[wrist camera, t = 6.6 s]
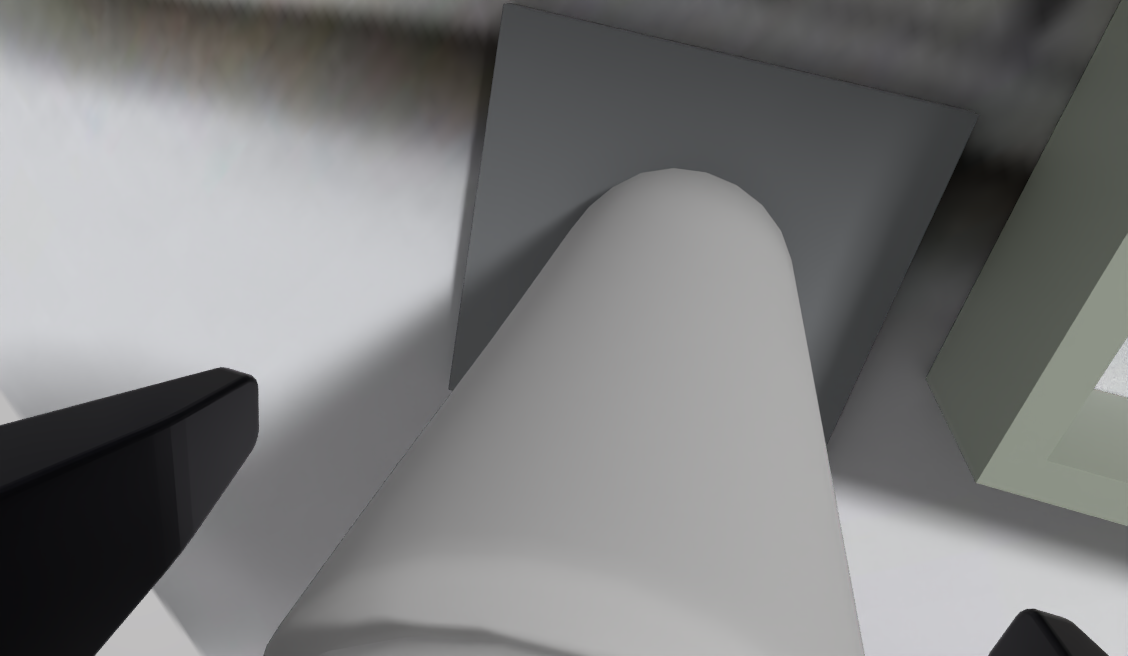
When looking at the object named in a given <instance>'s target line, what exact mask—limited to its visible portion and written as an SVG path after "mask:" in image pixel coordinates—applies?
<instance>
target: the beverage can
mask: <svg viewBox="0 0 1128 656" xmlns="http://www.w3.org/2000/svg"><path fill="white" fill-rule="evenodd" d="M264 656H865V654H864V648H863V643H862V638H861V632H860V627H859V621H858V616H857V611H856V605H855V600H854V594H853V589H852V584H851V578H850V573H849V567H848V562H847V557H846V551H845V546H844V540H843V535H842V530H841V524H840V519H839V513H838V508H837V503H836V497H835V492H834V486H833V481H832V476H831V470H830V465H829V460H828V454H827V449H826V443H825V438H824V433H823V427H822V422H821V416H820V411H819V406H818V400H817V395H816V389H815V384H814V379H813V373H812V368H811V362H810V357H809V352H808V346H807V341H806V335H805V330H804V325H803V319H802V314H801V308H800V303H799V298H798V292H797V287H796V282H795V276H794V271H793V265H792V260H791V257H790V254H789V251H788V249H787V246H786V243H785V240H784V238H783V235H782V232H781V230H780V229H779V227H778V226H777V224H776V223H775V222H774V220H773V219H772V218H771V216H770V215H769V213H768V212H767V211H766V209H765V208H764V207H763V205H762V204H760V203H759V202H758V201H757V200H755V199H754V198H753V197H751V196H750V195H749V194H747V193H746V192H745V191H744V190H742V189H741V188H740V187H738V186H737V185H735V184H733V183H730V182H728V181H726V180H723V179H721V178H719V177H716V176H714V175H711V174H709V173H707V172H700V171H692V170H685V169H677V168H670V169H664V170H657V171H650V172H643V173H640V174H638V175H636V176H634V177H632V178H630V179H628V180H626V181H624V182H622V183H620V184H618V185H616V186H614V187H612V188H611V189H610V190H608V191H607V192H606V193H605V194H604V195H602V196H601V197H600V198H599V199H598V200H597V201H595V202H594V203H593V204H592V205H591V206H589V207H588V209H587V210H586V211H585V212H584V214H583V215H582V216H581V217H580V219H579V220H578V221H577V222H576V224H575V225H574V226H573V227H572V229H571V230H570V231H569V233H568V234H567V235H566V237H565V238H564V240H563V241H562V242H561V244H560V245H559V247H558V248H557V249H556V251H555V252H554V254H553V255H552V256H551V258H550V259H549V261H548V262H547V263H546V265H545V266H544V268H543V269H542V270H541V272H540V273H539V275H538V276H537V277H536V279H535V280H534V281H533V283H532V284H531V286H530V287H529V288H528V290H527V291H526V293H525V294H524V295H523V297H522V298H521V300H520V301H519V302H518V304H517V305H516V307H515V308H514V309H513V311H512V312H511V313H510V315H509V316H508V317H507V319H506V320H505V322H504V323H503V324H502V326H501V327H500V328H499V330H498V331H497V333H496V334H495V335H494V337H493V338H492V339H491V341H490V342H489V343H488V345H487V346H486V347H485V349H484V350H483V351H482V353H481V354H480V355H479V357H478V358H477V359H476V361H475V362H474V363H473V365H472V366H471V367H470V369H469V370H468V371H467V373H466V374H465V375H464V377H463V378H462V379H461V381H460V382H459V383H458V385H457V386H456V387H455V389H454V390H453V391H452V393H451V394H450V395H449V397H448V398H447V399H446V401H445V402H444V403H443V405H442V406H441V407H440V409H439V410H438V411H437V413H436V414H435V415H434V417H433V418H432V419H431V420H430V422H429V423H428V424H427V426H426V427H425V428H424V430H423V431H422V432H421V434H420V435H419V436H418V438H417V439H416V440H415V442H414V443H413V444H412V446H411V447H410V448H409V450H408V451H407V452H406V454H405V455H404V456H403V458H402V459H401V460H400V462H399V463H398V465H397V466H396V467H395V469H394V470H393V471H392V473H391V474H390V475H389V477H388V478H387V479H386V481H385V482H384V483H383V485H382V486H381V488H380V489H379V490H378V492H377V493H376V494H375V496H374V497H373V498H372V500H371V501H370V502H369V504H368V505H367V507H366V508H365V509H364V511H363V512H362V513H361V515H360V516H359V517H358V519H357V520H356V521H355V523H354V524H353V525H352V527H351V528H350V530H349V531H348V532H347V534H346V535H345V536H344V538H343V539H342V541H341V542H340V543H339V545H338V546H337V547H336V549H335V550H334V552H333V553H332V554H331V556H330V557H329V558H328V560H327V561H326V563H325V564H324V565H323V567H322V568H321V569H320V571H319V572H318V574H317V575H316V576H315V578H314V579H313V580H312V582H311V583H310V585H309V586H308V587H307V589H306V590H305V591H304V593H303V594H302V596H301V597H300V598H299V600H298V601H297V602H296V604H295V605H294V606H293V608H292V609H291V611H290V612H289V613H288V615H287V616H286V617H285V619H284V620H283V622H282V623H281V624H280V626H279V627H278V629H277V630H276V632H275V633H274V635H273V637H272V638H271V640H270V641H269V643H268V644H267V646H266V650H265V653H264Z"/></svg>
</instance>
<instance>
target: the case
mask: <svg viewBox="0 0 1128 656" xmlns="http://www.w3.org/2000/svg"><path fill="white" fill-rule="evenodd" d="M1127 337H1128V0H1121V2H1120V4H1119V6H1118V8H1117V10H1116V12H1115V13H1114V15H1113V17H1112V19H1111V21H1110V23H1109V25H1108V27H1107V29H1106V31H1105V33H1104V35H1103V37H1102V39H1101V41H1100V42H1099V44H1098V46H1097V48H1096V50H1095V52H1094V54H1093V56H1092V58H1091V60H1090V62H1089V64H1088V66H1087V68H1086V70H1085V72H1084V73H1083V75H1082V77H1081V79H1080V81H1079V83H1078V85H1077V87H1076V89H1075V91H1074V93H1073V95H1072V97H1071V99H1070V101H1069V102H1068V104H1067V106H1066V108H1065V110H1064V112H1063V114H1062V116H1061V118H1060V120H1059V122H1058V124H1057V126H1056V128H1055V130H1054V131H1053V133H1052V135H1051V137H1050V139H1049V141H1048V143H1047V145H1046V147H1045V149H1044V151H1043V153H1042V155H1041V157H1040V159H1039V160H1038V162H1037V164H1036V166H1035V168H1034V170H1033V172H1032V174H1031V176H1030V178H1029V180H1028V182H1027V184H1026V186H1025V188H1024V189H1023V191H1022V193H1021V195H1020V197H1019V199H1018V201H1017V203H1016V205H1015V207H1014V209H1013V211H1012V213H1011V215H1010V217H1009V218H1008V220H1007V222H1006V224H1005V226H1004V228H1003V230H1002V232H1001V234H1000V236H999V238H998V240H997V242H996V244H995V246H994V248H993V249H992V251H991V253H990V255H989V257H988V259H987V261H986V263H985V265H984V267H983V269H982V271H981V273H980V275H979V277H978V278H977V280H976V282H975V284H974V286H973V288H972V290H971V292H970V294H969V296H968V298H967V300H966V302H965V304H964V306H963V307H962V309H961V311H960V313H959V315H958V317H957V319H956V321H955V323H954V325H953V327H952V329H951V331H950V333H949V335H948V336H947V338H946V340H945V342H944V344H943V346H942V348H941V350H940V352H939V354H938V356H937V358H936V360H935V362H934V364H933V365H932V367H931V369H930V371H929V373H928V375H927V377H926V381H927V383H928V385H929V387H930V389H931V391H932V393H933V395H934V397H935V400H936V402H937V404H938V406H939V408H940V410H941V412H942V414H943V416H944V418H945V420H946V422H947V424H948V426H949V428H950V430H951V433H952V435H953V437H954V439H955V441H956V443H957V445H958V447H959V449H960V451H961V453H962V455H963V457H964V459H965V461H966V463H967V466H968V468H969V470H970V472H971V474H972V476H973V478H974V480H975V482H976V483H978V484H981V485H985V486H988V487H992V488H995V489H999V490H1002V491H1006V492H1009V493H1013V494H1016V495H1020V496H1023V497H1027V498H1030V499H1034V500H1037V501H1041V502H1044V503H1048V504H1051V505H1055V506H1058V507H1062V508H1065V509H1069V510H1072V511H1076V512H1079V513H1083V514H1086V515H1090V516H1093V517H1097V518H1100V519H1104V520H1107V521H1111V522H1114V523H1118V524H1121V525H1125V526H1128V398H1126V397H1123V396H1119V395H1115V394H1111V393H1108V392H1104V391H1100V390H1097V389H1094V387H1095V386H1096V384H1097V383H1098V381H1099V380H1100V378H1101V377H1102V375H1103V374H1104V372H1105V370H1106V369H1107V367H1108V366H1109V364H1110V363H1111V361H1112V360H1113V358H1114V357H1115V355H1116V354H1117V352H1118V351H1119V349H1120V348H1121V346H1122V344H1123V343H1124V341H1125V340H1126V338H1127Z"/></svg>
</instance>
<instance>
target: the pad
mask: <svg viewBox="0 0 1128 656" xmlns="http://www.w3.org/2000/svg"><path fill="white" fill-rule="evenodd" d="M978 117H979V115H978V114H976V113H974V112H973V111H970V110H966V109H961V108H957V107H953V106H949V105H944V104H940V103H936V102H932V101H927V100H923V99H919V98H914V97H910V96H906V95H902V94H897V93H893V92H889V91H884V90H880V89H876V88H872V87H867V86H863V85H859V84H855V83H850V82H846V81H842V80H837V79H833V78H829V77H825V76H820V75H816V74H812V73H807V72H803V71H799V70H795V69H790V68H786V67H782V66H778V65H773V64H769V63H765V62H760V61H756V60H752V59H748V58H743V57H739V56H735V55H730V54H726V53H722V52H718V51H713V50H709V49H705V48H701V47H696V46H692V45H688V44H683V43H679V42H675V41H671V40H666V39H662V38H658V37H653V36H649V35H645V34H641V33H636V32H632V31H628V30H623V29H619V28H615V27H611V26H606V25H602V24H598V23H594V22H589V21H585V20H581V19H576V18H572V17H568V16H564V15H559V14H555V13H551V12H546V11H542V10H538V9H534V8H529V7H525V6H521V5H517V4H512V3H507V4H504V5H503V12H502V19H501V26H500V33H499V40H498V47H497V54H496V61H495V68H494V75H493V82H492V89H491V96H490V103H489V110H488V117H487V124H486V131H485V138H484V145H483V152H482V159H481V166H480V173H479V180H478V187H477V194H476V201H475V208H474V215H473V222H472V229H471V236H470V243H469V250H468V257H467V264H466V271H465V278H464V285H463V292H462V299H461V306H460V313H459V320H458V327H457V334H456V341H455V348H454V355H453V362H452V369H451V376H450V383H449V390H452V391H453V390H454V389H455V387H456V386H457V385H458V383H459V382H460V381H461V379H462V378H463V377H464V375H465V374H466V373H467V371H468V370H469V369H470V367H471V366H472V365H473V363H474V362H475V361H476V359H477V358H478V357H479V355H480V354H481V353H482V351H483V350H484V349H485V347H486V346H487V345H488V343H489V342H490V341H491V339H492V338H493V337H494V335H495V334H496V333H497V331H498V330H499V328H500V327H501V326H502V324H503V323H504V322H505V320H506V319H507V317H508V316H509V315H510V313H511V312H512V311H513V309H514V308H515V307H516V305H517V304H518V302H519V301H520V300H521V298H522V297H523V295H524V294H525V293H526V291H527V290H528V288H529V287H530V286H531V284H532V283H533V281H534V280H535V279H536V277H537V276H538V275H539V273H540V272H541V270H542V269H543V268H544V266H545V265H546V263H547V262H548V261H549V259H550V258H551V256H552V255H553V254H554V252H555V251H556V249H557V248H558V247H559V245H560V244H561V242H562V241H563V240H564V238H565V237H566V235H567V234H568V233H569V231H570V230H571V229H572V227H573V226H574V225H575V224H576V222H577V221H578V220H579V219H580V217H581V216H582V215H583V214H584V212H585V211H586V210H587V209H588V207H589V206H591V205H592V204H593V203H594V202H595V201H597V200H598V199H599V198H600V197H601V196H602V195H604V194H605V193H606V192H607V191H608V190H610V189H611V188H612V187H614V186H616V185H618V184H620V183H622V182H624V181H626V180H628V179H630V178H632V177H634V176H636V175H638V174H640V173H643V172H650V171H657V170H664V169H670V168H677V169H685V170H692V171H700V172H707V173H709V174H711V175H714V176H716V177H719V178H721V179H723V180H726V181H728V182H730V183H733V184H735V185H737V186H738V187H740V188H741V189H742V190H744V191H745V192H746V193H747V194H749V195H750V196H751V197H753V198H754V199H755V200H757V201H758V202H759V203H760V204H762V205H763V207H764V208H765V209H766V211H767V212H768V213H769V215H770V216H771V218H772V219H773V220H774V222H775V223H776V224H777V226H778V227H779V229H780V230H781V232H782V235H783V238H784V240H785V243H786V246H787V249H788V251H789V254H790V257H791V260H792V265H793V271H794V276H795V282H796V287H797V292H798V298H799V303H800V308H801V314H802V319H803V325H804V330H805V335H806V341H807V346H808V352H809V357H810V362H811V368H812V373H813V379H814V384H815V389H816V395H817V400H818V406H819V411H820V416H821V422H822V427H823V433H824V438H825V443H826V445H827V443H828V441H829V439H830V437H831V434H832V432H833V430H834V428H835V426H836V424H837V421H838V419H839V417H840V415H841V413H842V411H843V409H844V406H845V404H846V402H847V400H848V398H849V396H850V393H851V391H852V389H853V387H854V385H855V383H856V380H857V378H858V376H859V374H860V372H861V370H862V367H863V365H864V363H865V361H866V359H867V357H868V355H869V352H870V350H871V348H872V346H873V344H874V342H875V339H876V337H877V335H878V333H879V331H880V329H881V326H882V324H883V322H884V320H885V318H886V316H887V314H888V311H889V309H890V307H891V305H892V303H893V301H894V298H895V296H896V294H897V292H898V290H899V288H900V285H901V283H902V281H903V279H904V277H905V275H906V273H907V270H908V268H909V266H910V264H911V262H912V260H913V257H914V255H915V253H916V251H917V249H918V247H919V244H920V242H921V240H922V238H923V236H924V234H925V231H926V229H927V227H928V225H929V223H930V221H931V219H932V216H933V214H934V212H935V210H936V208H937V206H938V203H939V201H940V199H941V197H942V195H943V193H944V190H945V188H946V186H947V184H948V182H949V180H950V178H951V175H952V173H953V171H954V169H955V167H956V165H957V162H958V160H959V158H960V156H961V154H962V152H963V149H964V147H965V145H966V143H967V141H968V139H969V137H970V134H971V132H972V130H973V128H974V126H975V124H976V121H977V119H978Z"/></svg>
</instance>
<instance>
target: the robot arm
mask: <svg viewBox="0 0 1128 656" xmlns="http://www.w3.org/2000/svg"><path fill="white" fill-rule="evenodd" d="M258 432H259V407H258V384H257V381H256V379H255V378H254V377H253V376H252V375H249V374H246V373H243V372H239V371H236V370H233V369H229V368H224V367H220V368H215V369H212V370H208V371H204V372H200V373H196V374H193V375H189V376H185V377H181V378H178V379H174V380H170V381H166V382H162V383H159V384H155V385H151V386H147V387H143V388H140V389H136V390H132V391H128V392H125V393H121V394H117V395H113V396H109V397H106V398H102V399H98V400H94V401H90V402H87V403H83V404H79V405H75V406H71V407H68V408H64V409H60V410H56V411H53V412H49V413H45V414H41V415H37V416H34V417H30V418H26V419H22V420H18V421H15V422H11V423H7V424H4V425H0V656H95V655H96V653H97V652H98V651H99V650H100V649H101V648H102V646H103V645H104V644H105V643H106V642H107V641H108V639H109V638H110V637H111V636H112V635H113V633H114V632H115V631H116V630H117V629H118V628H119V626H120V625H121V624H122V623H123V622H124V620H125V619H126V618H127V617H128V616H129V614H130V613H131V612H132V611H133V610H134V609H135V608H136V606H137V605H138V604H139V603H140V602H141V600H142V599H143V598H144V597H145V596H146V595H147V593H148V592H149V591H150V590H151V589H152V587H153V586H154V585H155V584H156V583H157V582H158V580H159V579H160V578H161V577H162V576H163V575H164V573H165V572H166V571H167V570H168V569H169V567H170V566H171V565H172V564H173V562H174V561H175V560H176V559H177V557H178V556H179V555H180V554H181V552H182V551H183V550H184V548H185V547H186V546H187V544H188V543H189V541H190V540H191V539H192V537H193V536H194V535H195V533H196V532H197V530H198V529H199V527H200V526H201V524H202V523H203V521H204V520H205V519H206V517H207V516H208V514H209V513H210V511H211V510H212V508H213V507H214V505H215V504H216V502H217V501H218V500H219V498H220V497H221V495H222V494H223V492H224V491H225V489H226V488H227V486H228V485H229V483H230V482H231V481H232V479H233V478H234V476H235V475H236V473H237V472H238V470H239V469H240V467H241V466H242V464H243V463H244V462H245V460H246V459H247V457H248V456H249V454H250V453H251V451H252V450H253V448H254V446H255V443H256V441H257V437H258ZM988 656H1109V655H1108V654H1106V653H1105V652H1104V651H1103V650H1102V649H1101V648H1100V647H1099V646H1098V645H1097V644H1096V643H1095V642H1093V641H1092V640H1091V639H1090V638H1089V637H1088V636H1087V635H1086V634H1085V633H1084V632H1083V631H1082V630H1080V629H1079V628H1078V627H1077V626H1076V625H1075V624H1074V623H1073V622H1071V621H1069V620H1068V619H1066V618H1063V617H1060V616H1056V615H1053V614H1050V613H1046V612H1043V611H1040V610H1036V609H1026V610H1023V611H1022V612H1020V613H1019V614H1018V615H1017V616H1016V617H1015V619H1014V620H1013V622H1012V623H1011V624H1010V626H1009V627H1008V628H1007V630H1006V631H1005V633H1004V634H1003V635H1002V637H1001V638H1000V639H999V641H998V642H997V644H996V645H995V646H994V648H993V649H992V650H991V652H990V653H989V655H988Z"/></svg>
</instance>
